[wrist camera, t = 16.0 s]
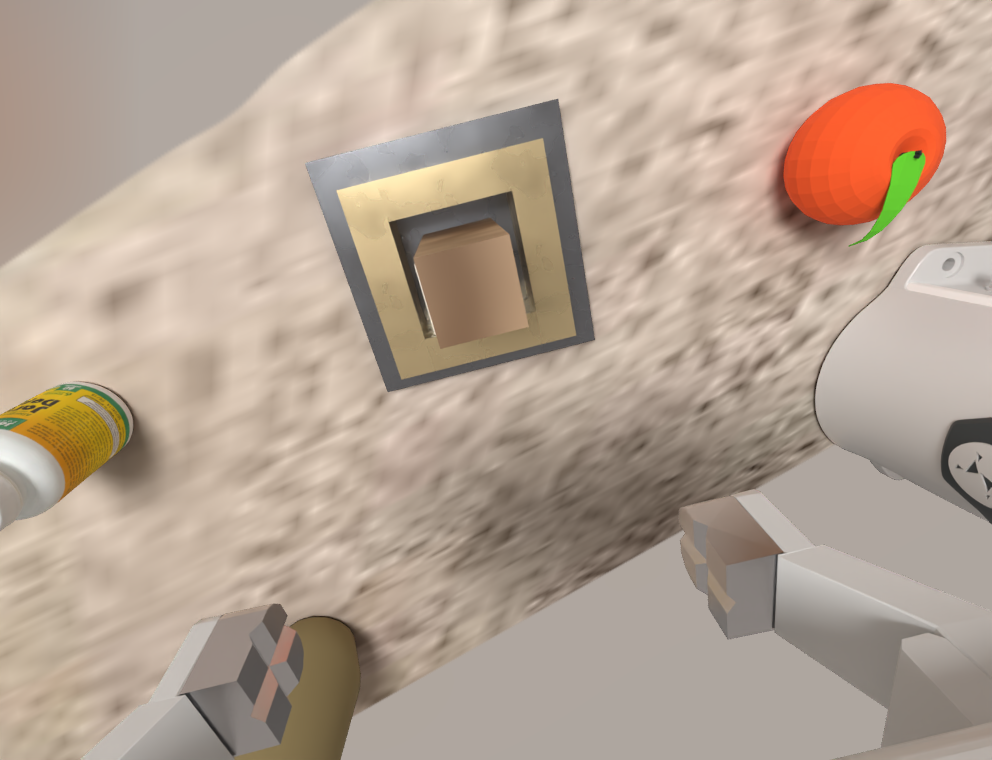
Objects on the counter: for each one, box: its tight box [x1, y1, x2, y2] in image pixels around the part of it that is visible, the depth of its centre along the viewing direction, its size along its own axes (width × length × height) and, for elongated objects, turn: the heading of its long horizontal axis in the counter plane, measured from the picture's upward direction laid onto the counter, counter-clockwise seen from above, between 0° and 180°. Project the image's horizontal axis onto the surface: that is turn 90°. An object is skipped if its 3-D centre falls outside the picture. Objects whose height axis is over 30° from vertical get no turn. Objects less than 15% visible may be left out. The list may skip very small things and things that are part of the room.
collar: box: [305, 99, 595, 392], centre depth 27 cm, size 14×14×4 cm
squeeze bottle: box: [234, 617, 361, 760], centre depth 32 cm, size 8×8×18 cm
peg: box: [413, 218, 529, 349], centre depth 24 cm, size 4×4×9 cm
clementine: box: [783, 83, 946, 246], centre depth 26 cm, size 8×7×7 cm
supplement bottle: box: [0, 381, 133, 531], centre depth 26 cm, size 5×5×10 cm
